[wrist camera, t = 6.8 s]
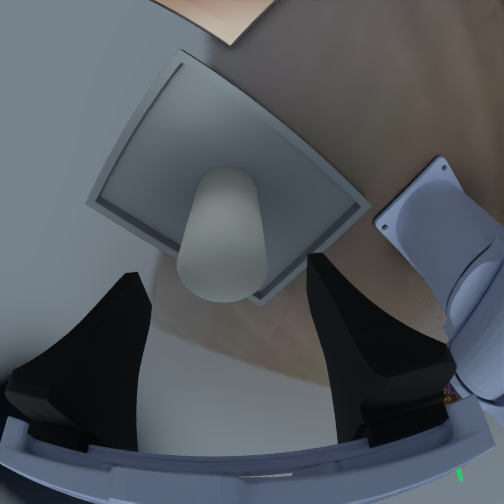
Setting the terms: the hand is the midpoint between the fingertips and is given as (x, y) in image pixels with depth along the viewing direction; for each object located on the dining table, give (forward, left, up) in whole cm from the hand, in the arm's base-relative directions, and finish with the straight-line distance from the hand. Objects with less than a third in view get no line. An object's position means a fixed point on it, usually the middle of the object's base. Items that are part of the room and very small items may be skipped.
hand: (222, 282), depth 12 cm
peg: (0, 0, -9) cm, 9 cm away
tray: (0, 0, -9) cm, 9 cm away
